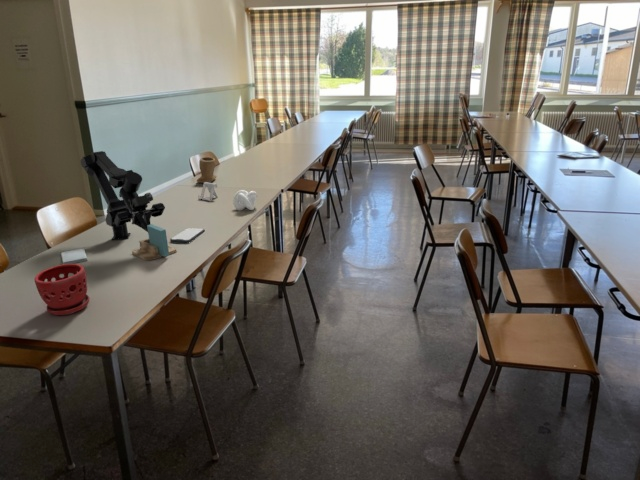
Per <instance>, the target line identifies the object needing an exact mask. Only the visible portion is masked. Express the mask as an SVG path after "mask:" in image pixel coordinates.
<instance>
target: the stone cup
mask: <svg viewBox="0 0 640 480" xmlns="http://www.w3.org/2000/svg"><path fill="white" fill-rule="evenodd" d="M198 161H199V162H198V163H199V165H198V166H199V170H200V171H199V172H200V174H201V176H200V177H198V178H197V179H196V182H197V183H203V184H204V182H208V183H212V182H213V181H215V179H216V178H217V175H215V174H214V172H215V168H216V159H215V158H214V157H212V156H202V157H200V159H199V160H198Z"/></svg>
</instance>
